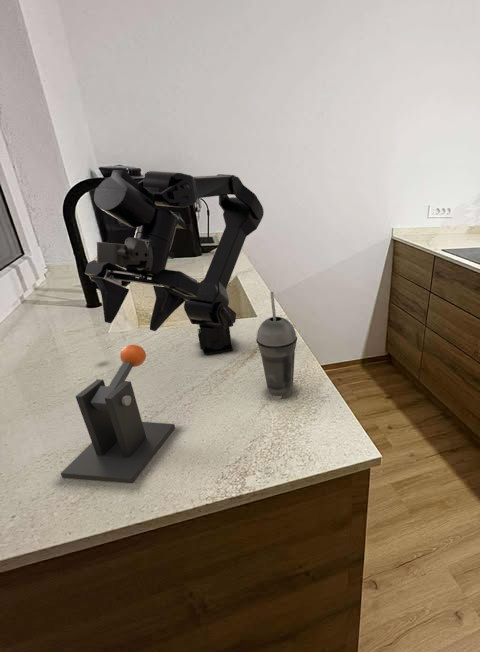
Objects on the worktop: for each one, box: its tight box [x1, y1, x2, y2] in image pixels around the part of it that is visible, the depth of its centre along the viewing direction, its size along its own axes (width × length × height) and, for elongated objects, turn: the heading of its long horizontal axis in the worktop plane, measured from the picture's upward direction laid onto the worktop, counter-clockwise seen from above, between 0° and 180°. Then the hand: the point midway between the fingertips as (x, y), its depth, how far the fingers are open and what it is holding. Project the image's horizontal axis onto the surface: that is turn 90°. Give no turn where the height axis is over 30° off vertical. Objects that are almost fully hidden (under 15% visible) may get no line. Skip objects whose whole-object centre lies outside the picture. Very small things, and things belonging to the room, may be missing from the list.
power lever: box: [90, 344, 147, 412], centre depth 57 cm, size 11×3×3 cm, turn 176°
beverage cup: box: [255, 291, 298, 400], centre depth 70 cm, size 7×7×20 cm
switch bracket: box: [60, 378, 176, 484], centre depth 56 cm, size 12×10×12 cm
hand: (129, 326), depth 65 cm, fingers open, 9 cm apart
